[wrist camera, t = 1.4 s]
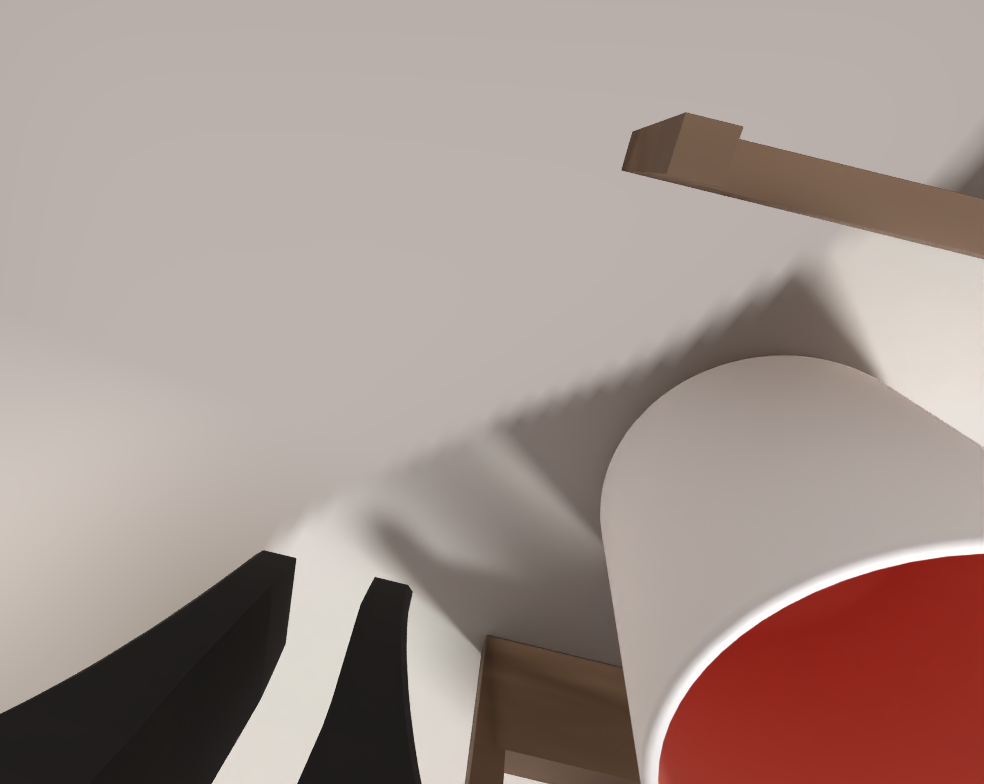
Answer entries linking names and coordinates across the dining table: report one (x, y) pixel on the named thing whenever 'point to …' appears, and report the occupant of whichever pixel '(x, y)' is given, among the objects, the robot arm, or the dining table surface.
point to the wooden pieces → (601, 687)
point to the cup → (798, 581)
